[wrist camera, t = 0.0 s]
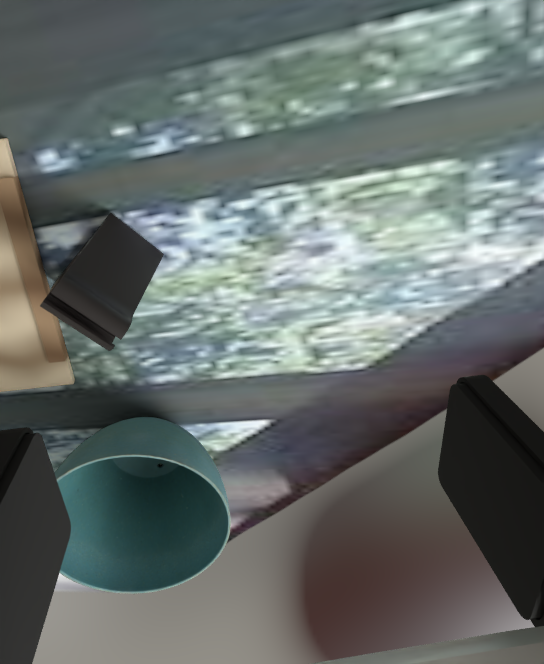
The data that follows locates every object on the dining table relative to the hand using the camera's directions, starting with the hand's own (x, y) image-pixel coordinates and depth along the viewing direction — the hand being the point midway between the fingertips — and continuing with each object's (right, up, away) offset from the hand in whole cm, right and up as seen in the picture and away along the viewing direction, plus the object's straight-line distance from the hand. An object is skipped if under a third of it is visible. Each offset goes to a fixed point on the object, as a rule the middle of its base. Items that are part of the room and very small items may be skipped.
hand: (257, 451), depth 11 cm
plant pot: (-14, -11, +45) cm, 48 cm away
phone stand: (-15, +9, +35) cm, 39 cm away
